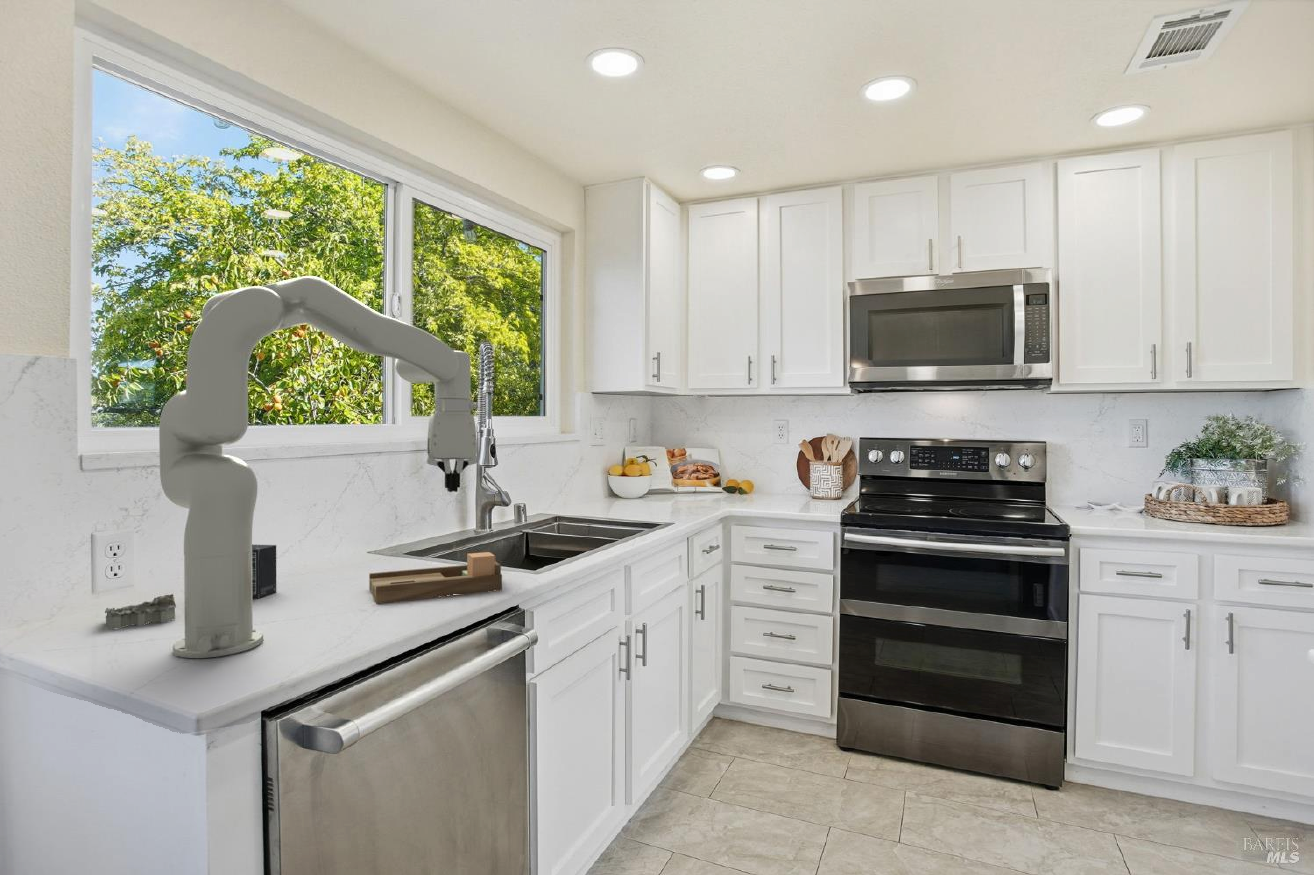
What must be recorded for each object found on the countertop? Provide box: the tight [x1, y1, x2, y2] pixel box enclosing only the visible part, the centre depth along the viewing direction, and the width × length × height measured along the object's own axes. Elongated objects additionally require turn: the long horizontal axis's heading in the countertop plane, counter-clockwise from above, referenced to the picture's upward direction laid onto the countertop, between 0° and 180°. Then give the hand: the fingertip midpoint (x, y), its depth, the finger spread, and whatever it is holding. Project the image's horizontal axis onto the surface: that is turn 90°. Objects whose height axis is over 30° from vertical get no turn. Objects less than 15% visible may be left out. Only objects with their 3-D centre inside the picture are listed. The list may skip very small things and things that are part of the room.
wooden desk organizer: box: [368, 560, 503, 605], centre depth 156 cm, size 14×26×6 cm, turn 118°
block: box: [466, 551, 496, 577], centre depth 158 cm, size 5×5×5 cm
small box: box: [252, 544, 277, 599], centre depth 150 cm, size 11×6×10 cm, turn 84°
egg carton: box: [104, 593, 177, 629], centre depth 130 cm, size 11×8×4 cm
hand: (452, 491), depth 154 cm, fingers closed
